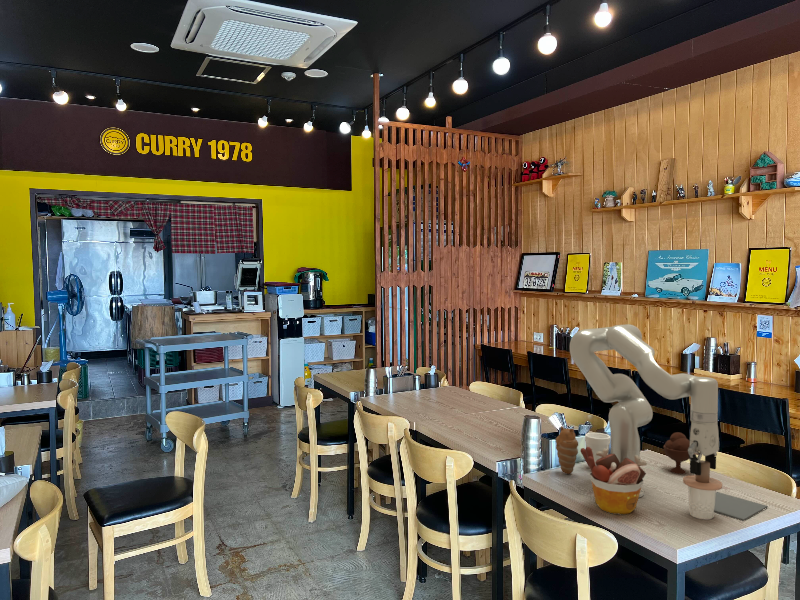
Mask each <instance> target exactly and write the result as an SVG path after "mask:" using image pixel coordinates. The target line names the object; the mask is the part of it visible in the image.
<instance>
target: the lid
mask: <svg viewBox="0 0 800 600" xmlns="http://www.w3.org/2000/svg"><path fill="white" fill-rule="evenodd" d="M700 462H701V475H695V474H691V475H685V476H683V477H682V483H683V484H684V485H686V486H687V487H688V486H689V487H692V488H696V489H701V490H716V491H719V490H722V489H723V483H722V481H720V480H718V479H716V478H713V477H711V474H710V473H711V468H710V462H707V461H705V460H703V459H701V460H700Z"/></svg>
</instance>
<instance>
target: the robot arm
mask: <svg viewBox="0 0 800 600" xmlns="http://www.w3.org/2000/svg"><path fill="white" fill-rule="evenodd" d="M611 350H612V351H613V350H614V351H615V352H616V353H617V354H619V355H620V357H623V358H624V359H625V360H626V361H627V362H629V363H630V364H631V365H633V367H635V369H636V370H637V373H638V374H639V376H640V377H641V379H642V380H643V382H644V383H645V384H646V385H647V386H648V387H649V388H650V389H652V390H653V391H654V392H656V393H657V394H658V395H660V396H662V397H663V398H664V399H668V400H678V399H682V398H688V397H690V422H691V425H690V432H689V441H690V447H689V448H688V453H689V459H688V460H689V473H690V474H691V475H701V462H700V460H702V456H703V457H704V461H707V462H710V470H716V469H717V456H718V454H717V453H718V452H719V450H720V448H719V447H720V441H719V440H720V437H719V434H720V433H719V426H718V415H719V414H718V411H719V410H718V407H719V406H718V404H719V403H718V402H719V399H718V398H719V384H718V380H717V379H715V378H713V377H708V376H697V375H693V374H689V373H677V374H670V373H669V372H667V371H666V370H665V369H663V367H661V366H660V365H659V364H658V363H657V362H656V360H655V358H654V357H655V354H656V352H655V349H654V347H653V346H651V345H649V343H647V342H645V341H644V340H643V334H642V332H641V330H640V329H639V327H637V326H635V325H633V324H629V323H627V324H615V325H613V326H607V327H600V328H599V327H596V328H586V329H585V328H584V329H581V330H579V331H577V332H575V333H574V334H573V336H572V337H571V339H570V342H569V354H570V356H571V359H572V361H573V363H574V364H575V366H576V367H577V368H578V369H579V370H580V372H581V373H582V374H583V376H584V377H585V380H586V381H587V383H588V384H589V385H590V387H591V388H592V390H593V391H594V393H595V395H596V396H597V397H598V398H599V399H600V401H602V402H603V403H614V402H618V403H615V404H614V405H613V406H612V407H611V408H610V410H609V413H608V424H609V430H610V454H615V455H616V457H617V458H618V460H619V462H620V463H621V462H622V461H623V460H624V459H625V458H628V459H630V460H632V461H633V462H635V458H634V456H635V455H637V456H639V457H640V458H641V440H640V439H641V438H640V435H639V431H638V428H639V427H642V426H643V427H644V426H646V425H647V424H649V423H650V422H651V421H652V419H653V415H654V413H653V408H652V406H651V404H650V403H649V401H648V400H647V398H646V396H644V394H643V392H642V391H641V390H640V388H639V387H638V386H637V385H636V383H635V382H634V380H633V379H632V378H631V377H630V376H628V375H626V374H623V373H614V374H613V373H612V371H611V370H610V369H609V368H608V366H607V365H606V363H605V362H604V361H603V360H602V359H601V358H600V357H599V356H598V355H596V353H597V352H601V351H602V352H603V351H611ZM595 352H596V353H595ZM639 467H641V466H639ZM644 495H645V491H644V489H643V488H642V487H641V490H640V494H639V498H641V497H643V496H644Z"/></svg>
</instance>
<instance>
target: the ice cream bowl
mask: <svg viewBox="0 0 800 600" xmlns="http://www.w3.org/2000/svg"><path fill="white" fill-rule="evenodd" d="M689 447H690V439H688V438H687V436H686V435H685V434H684V433H682V432H678V431H677V432H673V433H672V434H671V435H670V437H669V439H668V440H666V441H665V444H663V446H662V448H663V451H664V454H665V455H666V456H667V457H668V458H669V459H670V460H673V461H674V462H675V466H674V467H672V468H671V469H670V472H671V473H672V474H676V475H686V470H685V469H683V468H682V465H681V464H682V463H683V462H686V461H688V460H689V453H688V448H689Z"/></svg>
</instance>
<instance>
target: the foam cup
mask: <svg viewBox="0 0 800 600" xmlns="http://www.w3.org/2000/svg"><path fill="white" fill-rule="evenodd" d="M584 436H585V438H584V441H585V446H586V447H590V448H591V449H592V453H593V457H594V461H595V462H596V461H597V460H598V459H600V458H601V456H597V455H596V453H597V452H598V451H601V452H602V451H603V449H605V448H607V449H608V453H607V455H609V451H610V450H609V449H610V445H611V435H609V434H607V433H601V432H587V433H585V435H584ZM602 453H603V452H602ZM595 465H596V463H595ZM596 466H597V465H596Z"/></svg>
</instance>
